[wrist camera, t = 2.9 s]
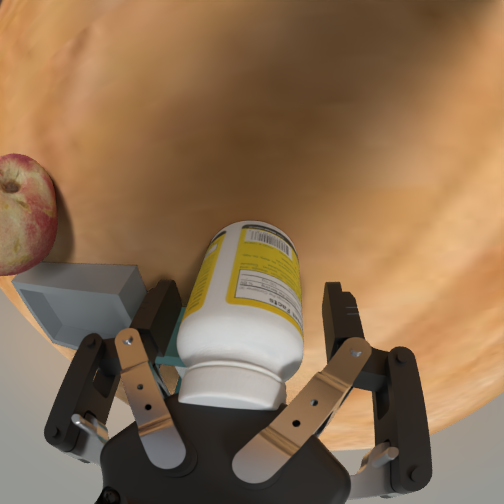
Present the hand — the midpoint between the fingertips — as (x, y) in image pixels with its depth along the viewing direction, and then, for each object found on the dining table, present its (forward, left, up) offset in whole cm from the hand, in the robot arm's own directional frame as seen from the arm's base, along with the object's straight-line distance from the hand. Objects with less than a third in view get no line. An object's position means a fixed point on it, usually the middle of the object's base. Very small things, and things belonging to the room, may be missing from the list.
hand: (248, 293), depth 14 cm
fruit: (-6, -15, -3) cm, 16 cm away
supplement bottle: (0, 0, -3) cm, 3 cm away
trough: (+5, -15, -3) cm, 16 cm away
